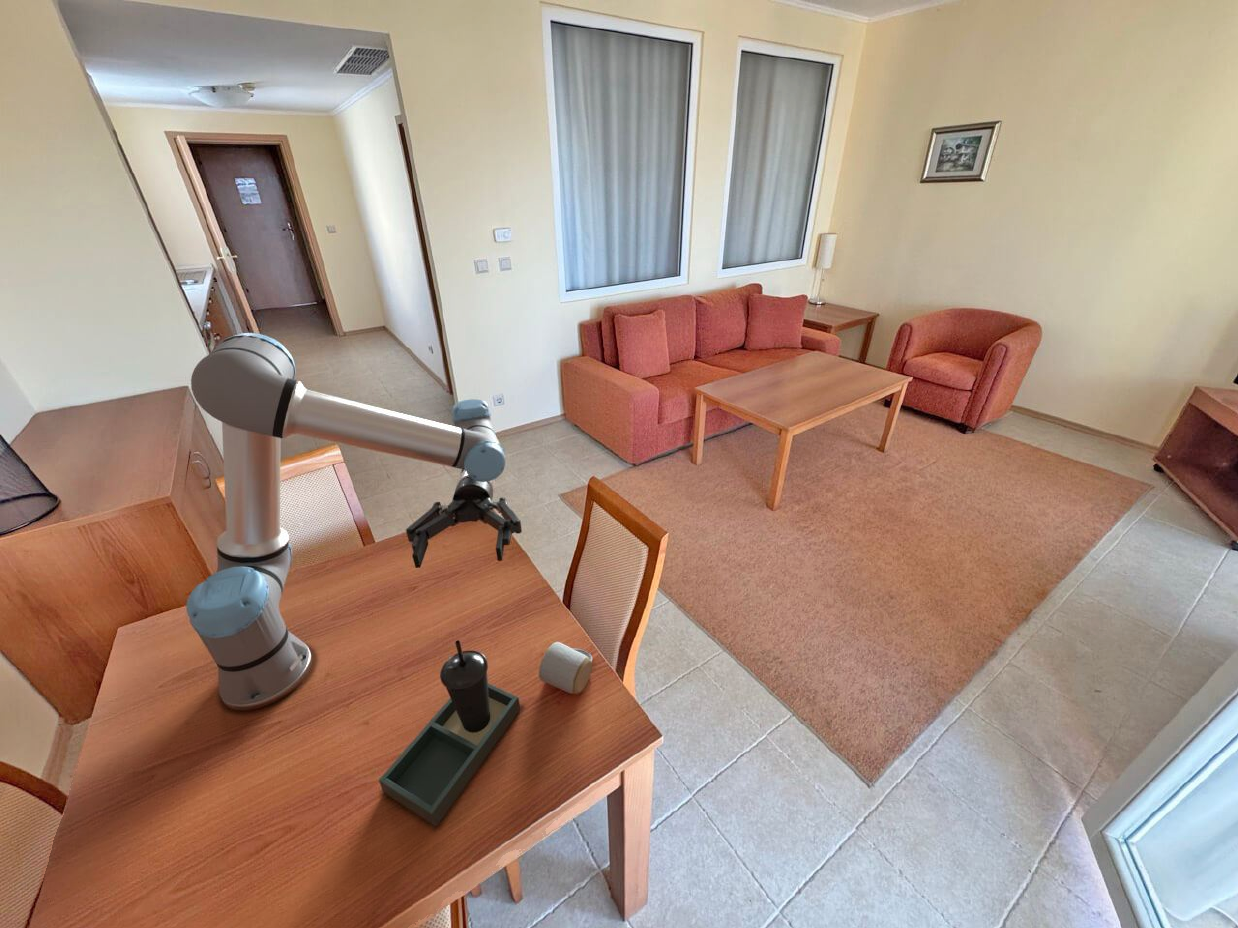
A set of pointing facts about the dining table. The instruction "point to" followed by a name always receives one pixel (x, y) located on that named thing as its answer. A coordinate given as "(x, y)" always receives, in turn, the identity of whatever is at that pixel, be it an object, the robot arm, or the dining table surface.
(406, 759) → the divided tray
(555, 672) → the ceramic mug
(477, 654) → the drinking cup
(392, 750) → the dining table surface
